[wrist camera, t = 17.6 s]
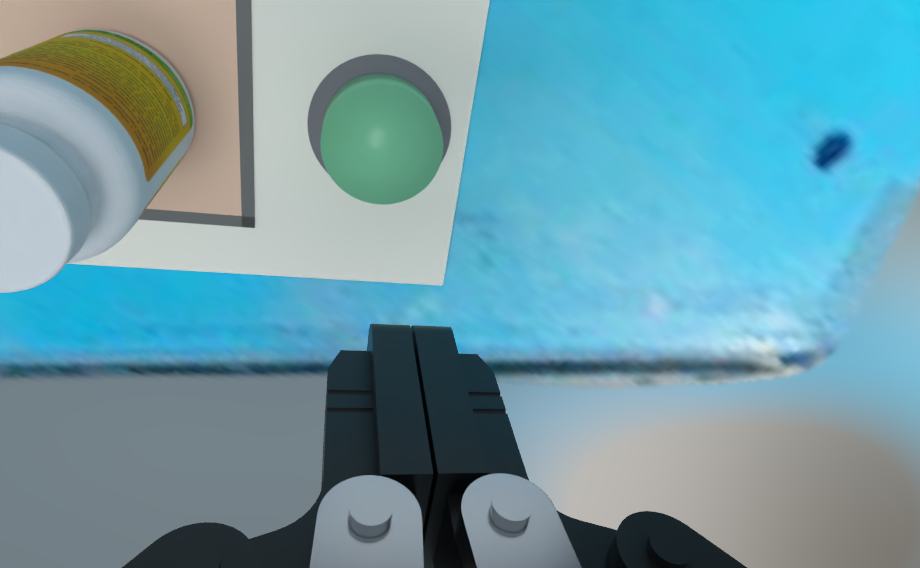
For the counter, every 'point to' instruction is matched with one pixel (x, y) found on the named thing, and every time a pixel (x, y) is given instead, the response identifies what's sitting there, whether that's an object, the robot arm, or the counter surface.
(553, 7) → the counter surface
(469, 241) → the counter surface
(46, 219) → the supplement bottle
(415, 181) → the button
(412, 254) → the white board
